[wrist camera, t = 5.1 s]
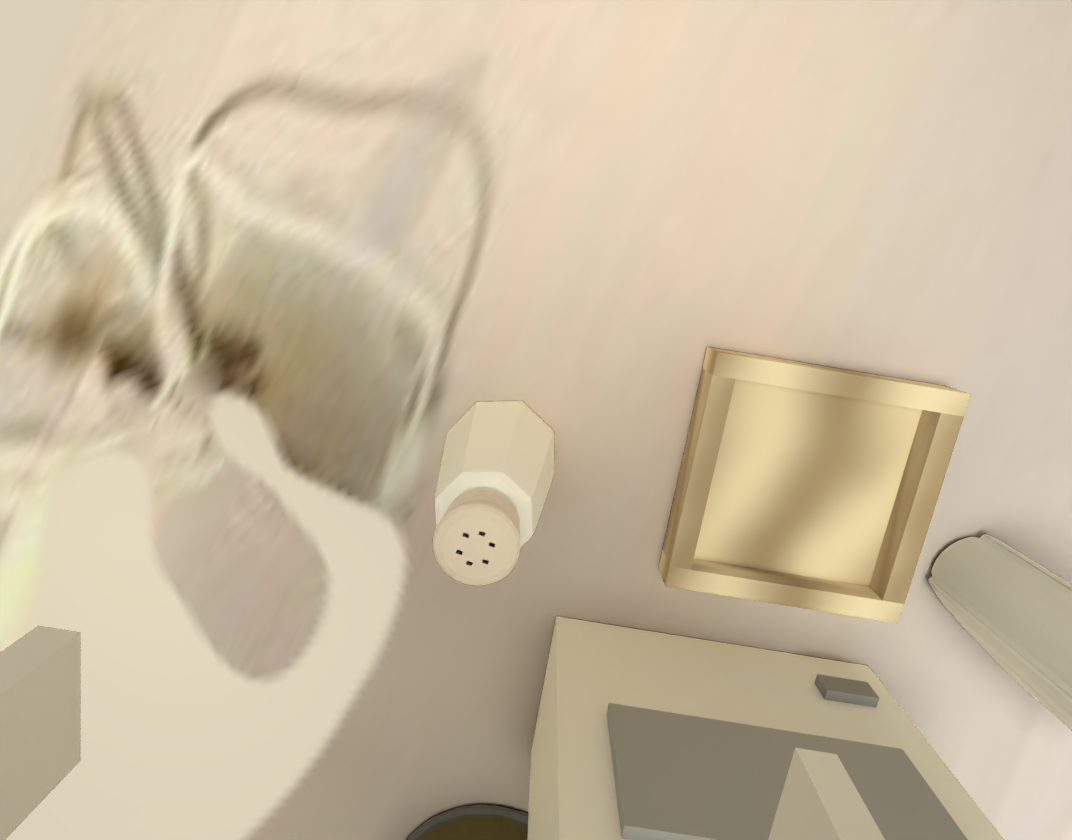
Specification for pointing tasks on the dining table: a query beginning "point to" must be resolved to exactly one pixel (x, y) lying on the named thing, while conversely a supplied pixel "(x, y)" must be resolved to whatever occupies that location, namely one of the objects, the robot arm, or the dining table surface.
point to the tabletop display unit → (719, 741)
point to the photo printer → (1012, 615)
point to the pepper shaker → (491, 490)
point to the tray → (808, 484)
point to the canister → (475, 824)
